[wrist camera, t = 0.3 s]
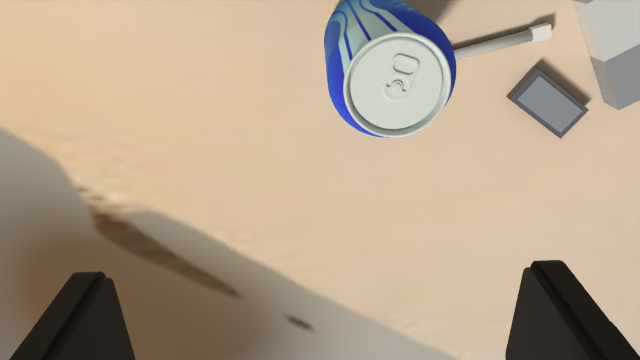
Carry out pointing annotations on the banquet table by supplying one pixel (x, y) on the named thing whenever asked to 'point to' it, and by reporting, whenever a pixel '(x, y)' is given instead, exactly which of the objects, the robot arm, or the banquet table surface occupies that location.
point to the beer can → (387, 67)
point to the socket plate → (613, 47)
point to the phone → (547, 102)
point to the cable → (506, 41)
